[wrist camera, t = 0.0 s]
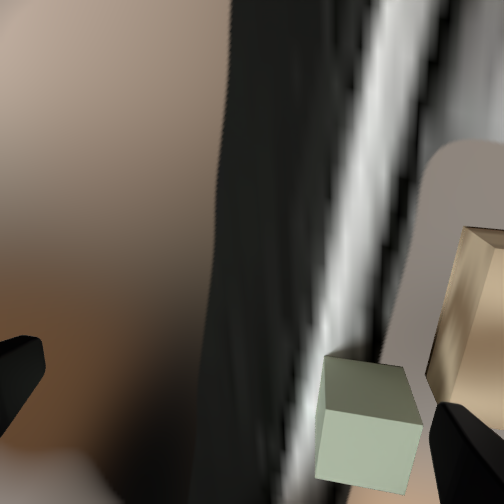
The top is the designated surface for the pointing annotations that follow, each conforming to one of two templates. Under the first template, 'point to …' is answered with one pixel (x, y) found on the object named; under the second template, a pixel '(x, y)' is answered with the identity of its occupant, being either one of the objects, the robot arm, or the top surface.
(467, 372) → the oak block
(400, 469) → the sage cube
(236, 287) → the top surface
